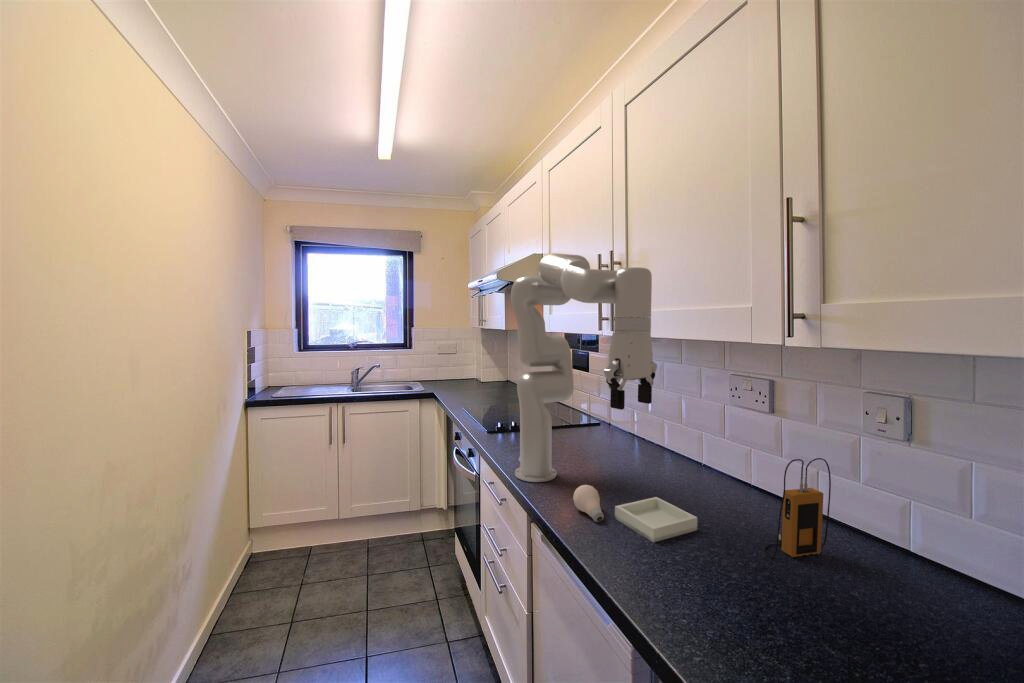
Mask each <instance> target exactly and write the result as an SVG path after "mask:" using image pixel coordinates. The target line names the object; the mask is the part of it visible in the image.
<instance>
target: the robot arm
mask: <svg viewBox="0 0 1024 683" xmlns="http://www.w3.org/2000/svg"><path fill="white" fill-rule="evenodd" d="M537 272H538V275H539V276H538V275H528V276H521V277H519V278H517V279H516V280H515V281H514V282H513V284H512V286H511V290H510V291H511V292H510V303H511V309H512V310H513V314H514V317H515V321H516V326H517V330H516V331H517V339H518V340H517V341H518V343H517V344H518V352H519V358H520V362H521V364H522V365H523V366H525V367H528V368H542V367H543V368H544V367H545V368H546V367H550V368H551V370H543V371H541V370H540V371H530V372H526V373H523V374H521V375H520V376H519V378H518V380H517V382H516V390H517V397H518V402H519V403H518V404H519V418H520V419H519V423H520V424H519V425H520V427H519V432H520V433H519V444H520V445H519V457H518V458H517V460H518V462H519V467H517V468H516V469H515V471H514V475H515V477H516V478H517V479H518V480H521V481H524V482H528V483H544V482H545V483H546V482H549V481H552V480H554V479H556V477H557V470H556V469H555V468H553V467H552V454H553V453H552V450H553V449H552V446H553V445H552V439H553V438H552V435H553V433H552V432H553V430H552V427H553V425H552V422H553V420H552V416H551V413H550V411H549V410H548V409H547V407H546V405H545V404H549V403H555V402H556V403H559V402H565V401H568V400H569V399H571V397H572V396H573V394H574V388H575V386H574V374H573V373H574V372H573V362H572V361H573V359H572V352H571V347H570V345H569V342H568V340H567V339H566V338H565V337H564V336H562V335H547V331H546V321H545V319H544V316H543V315H542V313H541V312H540V310H539V309H538V308H536V306H562V305H565V304H567V303H569V302H570V301H571V299H572V300H575V301H577V302H580V303H585V304H613V305H614V332H612V336H611V339H610V346H609V352H608V353H609V355H608V366H606V368H604V370H603V373H604V376H605V380H606V381H605V382H606V383H607V385H608V389H609V390H610V402H609V404H610V407H611V408H612V409H616V410H622V411H623V410H625V401H626V400H625V399H626V398H625V394H626V393H625V390H624V389H623V388H624V387H625V385H626V383H627V382H628V381H635V380H638V381H639V382H638V384H637V401H638V403H642V404H647V405H649V404H652V402H653V401H652V400H653V398H652V396H653V390H652V389H653V385H654V383H655V382H654V379H655V378H656V372H657V368H658V364H657V363H656V362H654V361H653V358H654V357H653V344H652V335H651V333H652V288H653V287H652V285H653V284H652V281H653V280H652V275H653V274H652V272H651V270H650V269H648V268H646V267H624V268H620V269H618V270H611V269H598V268H597V269H594V268H593V269H592V268H591V265H590V262H589V260H588V259H586V257H584V256H582V255H581V254H580V255H579V254H569V253H568V254H567V253H566V254H565V253H550V254H547V255H545V256H543V257H542V258H541V259H540V261H539V262H538V266H537Z"/></svg>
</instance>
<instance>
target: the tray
mask: <svg viewBox="0 0 1024 683" xmlns="http://www.w3.org/2000/svg"><path fill="white" fill-rule="evenodd" d="M614 519H615V520H617V521H618V522H620V523H621V524H623V525H625V526H626V527H628V528H629V529H631V530H632V531H634V532H636V533H637V534H639V535H640V536H642V537H644V538H645V539H647V540H649V541H650V542H651V543H657V542H660V541H664V540H668V539H671V538H675V537H679V536H682V535H685V534H688V533H689V534H690V533H692V532H696V531H698V516H695V515H694V514H691V513H689V512H687V511H685V510H684V509H681V508H680V507H678V506H675V505H674V504H672V503H669V502H668V501H665V500H664V499H661V498H660V497H657V496H654V497H650V498H645V499H641V500H640V499H639V500H637V501H633V502H628V503H627V502H626V503H622V504H619V505H615V506H614Z"/></svg>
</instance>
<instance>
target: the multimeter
mask: <svg viewBox="0 0 1024 683" xmlns="http://www.w3.org/2000/svg"><path fill="white" fill-rule="evenodd" d="M817 460H820V461H821V460H822V461H824V462H825V464H826V466H827V470H828V478H829V479H828V483H829V484H828V501H827V502H828V504H827V514H826V515H827V516H826V517H827V518H826V527H825V533H824V534H825V535H824V541H823V543H822V536H823V535H822V534H823V533H822V532H823V516H824V515H823V514H824V512H823V510H824V492H822V491H819V490H818V489H815V488H812V487H808V468H809V466H810V465H811V463H813V462H814V461H817ZM797 461H800V462H801V470H800V473H801V474H800V475H801V476H800V483H799V488H794V489H786V475H787V471H788V469H789V466H790V465H791V464H792V463H793V462H797ZM804 462H805V461H804V460H803V459H802V458H801V459H800V458H799V459H798V458H797V459H796V458H795V459H793V460H791V461H789V462H788V463H787V465H786V467H785V470H784V476H783V492H782V494H783V495H782V499H781V500H782V501H781V506H780V511H779V515H778V526H777V538H776V543H772V544H771V543H770V544H768V545H765V547H764V551H765V554H766V555H769V556H770V558H771V559H775V557H776V554H777V550H778V547H779V546H781V551H782V552H783V553H785V554H786V555H788V556H789V555H790V557H791V558H793V557H796V558H797V556H798V557H804V556H803V555H806V556H810V555H809V554H813V555H815V554H814V553H820V552H822V545H824V546H825V545H826V542H827V536H828V528H829V527H828V526H829V518H830V505H831V504H830V503H831V487H832V484H831V483H832V480H831V470H830V466H829V464H828V461H826V460H825V459H824V458H821V457H818V458H814V459H812V460H810V461H809V462H808V464H807V465H806V467H805V477H804V476H803V475H804V465H805V463H804ZM781 515H782V516H781ZM781 519H782V520H781ZM781 523H782V524H781ZM780 525H782V526H780ZM780 528H781V533H780V534H779V532H780ZM779 540H780V541H779ZM821 544H822V545H821ZM771 546H775V550H774V552H773V556H771V554H769V552H768V551H767V550H766V549H767V548H769V547H771ZM820 554H821V553H820Z"/></svg>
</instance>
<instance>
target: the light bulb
mask: <svg viewBox="0 0 1024 683" xmlns="http://www.w3.org/2000/svg"><path fill="white" fill-rule="evenodd" d="M572 500H573V503H574V505H575V507H576V508H577V509H578V510H579V511H580V512H583V513H586V514H587V515H588V516H589V517H590V518H591V519H592V520H593V522H595V523H600V522H602V520H604V518H605V515H604V513H603V512H602V508H601V505H600V502H601V501H600V500H601V499H600V494H599V492H598V490H597V489H596V488H595V487H594V486H593V485H589V484H582V485H580V486H577V488H576V489H575V491H574V492H573V497H572Z"/></svg>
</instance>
